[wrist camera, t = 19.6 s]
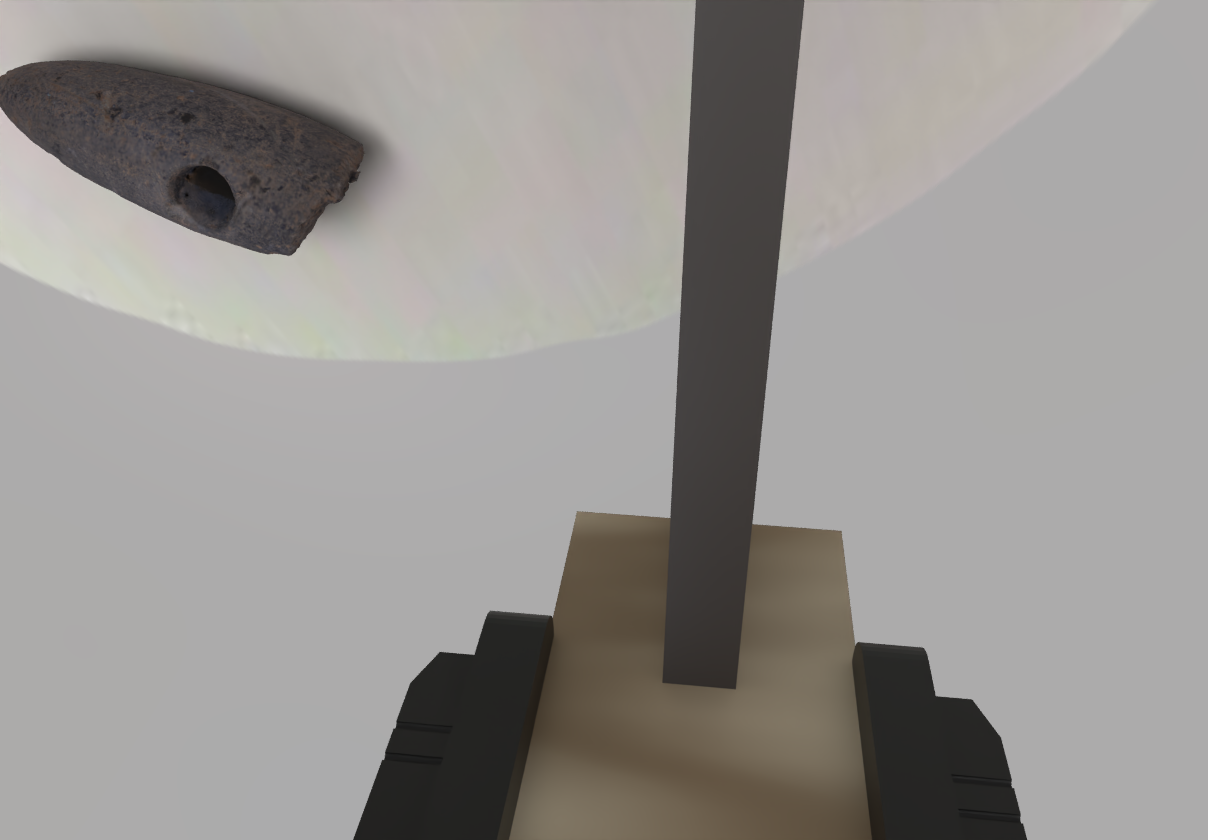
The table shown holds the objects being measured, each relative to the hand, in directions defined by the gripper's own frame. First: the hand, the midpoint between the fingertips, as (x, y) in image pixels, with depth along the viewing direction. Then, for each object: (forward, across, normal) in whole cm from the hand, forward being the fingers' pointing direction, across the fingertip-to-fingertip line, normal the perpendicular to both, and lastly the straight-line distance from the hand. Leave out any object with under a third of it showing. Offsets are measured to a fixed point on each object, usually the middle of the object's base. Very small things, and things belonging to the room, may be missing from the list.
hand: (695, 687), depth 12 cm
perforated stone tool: (+35, +22, +4) cm, 42 cm away
